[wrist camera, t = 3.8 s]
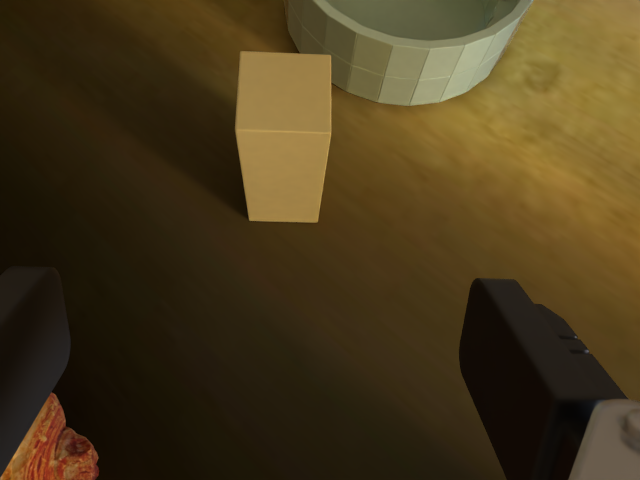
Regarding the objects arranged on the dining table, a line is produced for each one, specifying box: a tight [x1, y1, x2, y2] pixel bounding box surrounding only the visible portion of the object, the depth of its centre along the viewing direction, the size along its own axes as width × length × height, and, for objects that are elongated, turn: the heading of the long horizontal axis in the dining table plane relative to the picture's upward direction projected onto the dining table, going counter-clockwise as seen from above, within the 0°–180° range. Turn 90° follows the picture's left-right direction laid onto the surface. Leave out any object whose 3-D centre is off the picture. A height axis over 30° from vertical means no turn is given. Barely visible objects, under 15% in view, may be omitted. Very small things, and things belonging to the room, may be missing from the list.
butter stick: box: [235, 51, 331, 223], centre depth 28 cm, size 4×4×10 cm
